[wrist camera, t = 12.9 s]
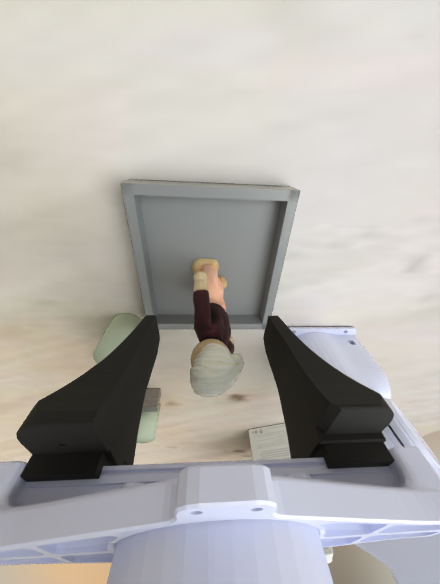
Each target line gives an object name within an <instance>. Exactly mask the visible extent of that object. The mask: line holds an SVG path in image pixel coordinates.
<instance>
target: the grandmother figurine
mask: <svg viewBox="0 0 440 584" xmlns="http://www.w3.org/2000/svg"><path fill="white" fill-rule="evenodd" d="M192 270H193V273H194V282H195V283H194V293H193V304H194V330H195V332H196V334H197V337H198V339H199V341H200V343H199V344H198V345H197V346H196V347H195V348H194V350H193V352H192V356H191V365H192V368H191V369H190V382H191V386H192V388H193V390H194V392H195V393H196V394H198V395H200V396H204V397H213V396H217V395H220V394H222V393H223V392H225V391H226V390H227V389H228V388H229V387H231V385H232V384H233V383H234V382H235V381H236V379H237V377H238V374H239V373H240V372H241V370H242V368H243V365H244V362H243V360H242V357H241V356H240V355H239V354H236V353H235V354H233V352H234V345H233V338H232V337H231V327H230V323H229V318H228V314H227V312H226V307H225V302H224V299H223V293H224V289H225V288H226V286H227V281H226V279H225V278H224V277H222V276H218V270H219V263H218V261H217V260H215V259H208V258H198V259H196V260H194V261H193V263H192Z"/></svg>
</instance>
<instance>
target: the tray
mask: <svg viewBox="0 0 440 584" xmlns="http://www.w3.org/2000/svg"><path fill="white" fill-rule="evenodd" d="M121 188H122V193H123V199H124V204H125V209H126V214H127V220H128V225H129V230H130V236H131V241H132V246H133V252H134V257H135V262H136V267H137V273H138V278H139V283H140V289H141V294H142V299H143V304H144V310H145V315H156V317H157V323H158V329H194V304H193V293H194V283H195V282H194V273H193V270H192V263H193V261H194V260H196V259H198V258H208V259H215V260H217V261H218V263H219V270H218V276H222V277H224V278H225V279H226V281H227V286H226V288H225V289H224V293H223V299H224V302H225V307H226V312H227V314H228V318H229V323H230V327H231V329H266V324H267V319H268V316H271V315H272V311H273V307H274V302H275V298H276V294H277V289H278V285H279V281H280V276H281V272H282V268H283V263H284V259H285V255H286V250H287V246H288V242H289V237H290V233H291V229H292V224H293V220H294V216H295V211H296V207H297V203H298V198H299V194H300V190H298V189H295V188H293V187H290V186H270V185H248V184H225V183H203V182H181V181H159V180H137V179H130V180H127V181H124V182H121Z"/></svg>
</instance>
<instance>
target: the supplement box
mask: <svg viewBox="0 0 440 584" xmlns="http://www.w3.org/2000/svg"><path fill="white" fill-rule="evenodd" d="M248 432H249V439H250V445H251V452H252V459H253V460H272V459H291V456H290V449H289V443H288V437H287V431H286V426H285V423H283V424H277V425H272V426H266V427H260V428H255V429H249V430H248ZM323 550H324V553H325V557H326V560H327V563H331V562H332V556H333V549H332V547H325V548H323Z"/></svg>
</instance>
